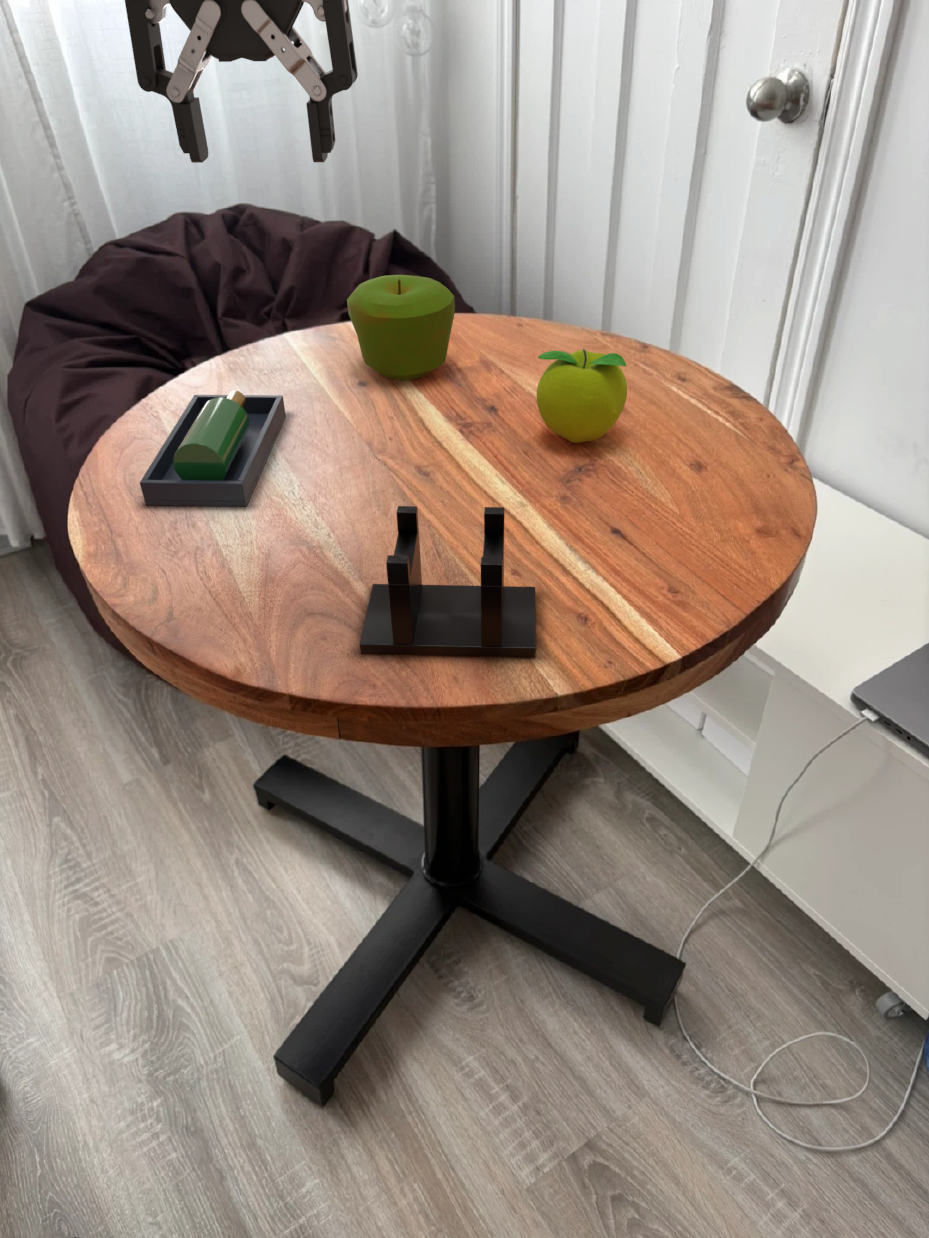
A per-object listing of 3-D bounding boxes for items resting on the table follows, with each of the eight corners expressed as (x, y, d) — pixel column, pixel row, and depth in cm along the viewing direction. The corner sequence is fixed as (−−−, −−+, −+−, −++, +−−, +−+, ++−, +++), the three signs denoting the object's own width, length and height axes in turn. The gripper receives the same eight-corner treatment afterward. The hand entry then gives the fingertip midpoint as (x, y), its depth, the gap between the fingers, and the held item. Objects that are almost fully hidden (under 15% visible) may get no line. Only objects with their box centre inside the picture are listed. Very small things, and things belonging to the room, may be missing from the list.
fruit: (606, 464, 96) (614, 374, 90) (523, 446, 99) (526, 358, 93) (633, 426, 103) (642, 339, 96) (555, 410, 106) (559, 325, 99)
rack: (360, 653, 74) (349, 562, 68) (373, 592, 80) (364, 504, 74) (535, 657, 73) (539, 566, 67) (535, 595, 79) (538, 506, 74)
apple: (473, 361, 117) (472, 271, 109) (418, 399, 109) (413, 304, 101) (392, 341, 122) (386, 254, 115) (335, 376, 114) (324, 284, 107)
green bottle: (225, 494, 93) (226, 449, 89) (173, 484, 92) (172, 439, 89) (259, 423, 104) (261, 381, 101) (213, 415, 104) (213, 372, 101)
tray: (246, 506, 91) (242, 483, 90) (145, 505, 92) (139, 482, 90) (286, 416, 106) (282, 395, 104) (198, 415, 106) (194, 394, 105)
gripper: (74, -137, 52) (143, 175, 62) (326, -143, 51) (354, 174, 61) (120, -137, 57) (176, 148, 68) (346, -143, 57) (368, 146, 67)
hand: (260, 160), depth 64 cm, fingers open, 8 cm apart
